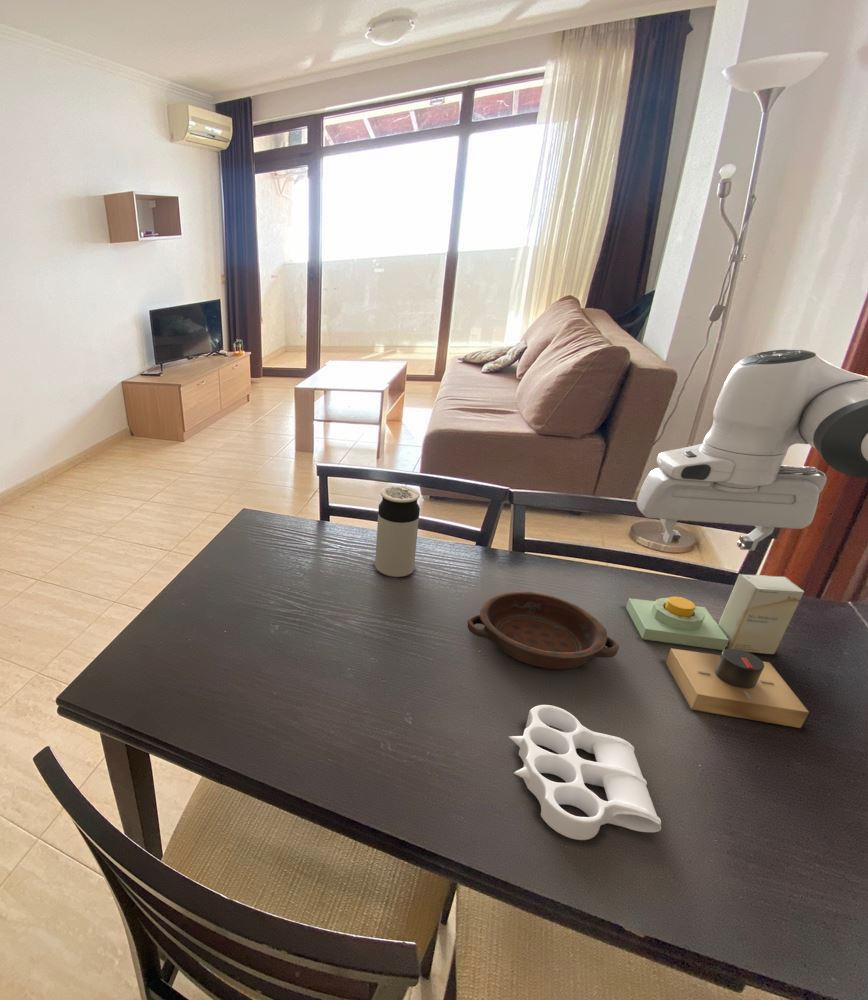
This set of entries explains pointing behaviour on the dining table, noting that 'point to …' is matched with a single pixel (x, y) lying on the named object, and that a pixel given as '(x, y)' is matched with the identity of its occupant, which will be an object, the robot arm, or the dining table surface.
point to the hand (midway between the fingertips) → (706, 545)
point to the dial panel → (735, 691)
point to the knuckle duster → (583, 776)
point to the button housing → (675, 625)
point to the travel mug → (397, 531)
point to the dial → (739, 668)
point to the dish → (542, 630)
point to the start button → (680, 606)
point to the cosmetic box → (759, 612)
